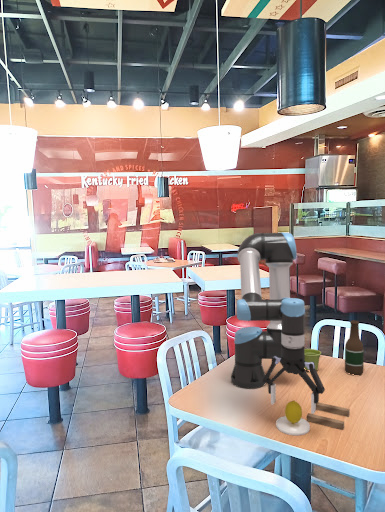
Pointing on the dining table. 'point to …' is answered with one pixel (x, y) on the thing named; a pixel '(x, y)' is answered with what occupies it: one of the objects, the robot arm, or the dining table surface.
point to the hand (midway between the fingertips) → (292, 407)
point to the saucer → (292, 426)
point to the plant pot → (312, 357)
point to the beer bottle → (354, 351)
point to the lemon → (293, 412)
